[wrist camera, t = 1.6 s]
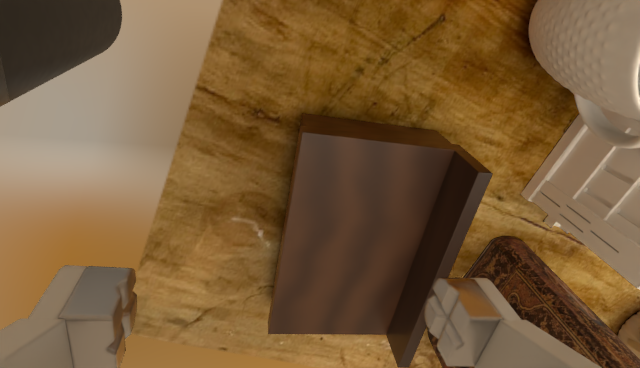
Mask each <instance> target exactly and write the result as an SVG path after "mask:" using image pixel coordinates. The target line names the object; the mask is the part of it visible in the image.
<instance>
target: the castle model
mask: <svg viewBox="0 0 640 368" xmlns="http://www.w3.org/2000/svg"><path fill="white" fill-rule="evenodd" d="M600 108H601V110H602V112H603V114H604V115H605V117H606V118H607V119H608V121H609V122H610V123H612V124H613V125H614V126H615V127H616V128H618V129H619V130H621V131H623V132H625V133H627V134H630V135H634V136H640V121H637V120H635V119H632V118H628V117H625V116H622V115H620V114H619V113H616V112H613V111H609V110H608V109H605V108H604V107H602V106H600ZM520 195H522V196H523V197H524V198H525V199H526V200H528V201H530V202H533V203H535V204H536V205H537V206H539V207H540V208H541V209H542V210H543V211H545V212H546V213H547V214H548V216H547V217H546V219H545V220H544V221H543V222H545V223H546V224H547V225H548V226H549V227H550V228H552V226H553V225H554V226H557V227H560V228H561V229H562V230H564V231H565V232H566V233H568V232H570V233H571V234H572V235H573V236H575V237H576V238H577V239H578V240H579V241H581V242H582V243H583V244H584V245H585V246H587V247H588V248H589V249H590V250H591V251H593V252H594V253H595V254H596V255H597V256H599V257H600V258H601V259H602V260H603V261H605V262H606V263H607V264H608V265H609V266H611V267H612V268H613V269H614V270H615V271H617V272H618V273H619V274H620V275H621V276H623V277H624V278H625V279H626V280H627V281H629V282H630V283H631V284H632V285H634V286H635V287H636V288H637V289H640V148H634V149H625V148H618V147H615V146H612V145H610V144H608V143H606V142H604V141H602V140H601V139H600V138H598V137H597V136H596V135H594V134H593V133H592V132H591V131H590V129H589V128H588V127H587V126H586V124H585V123H584V121H583V119H582V118H581V116H580V113H579V115H578V116H577V117H576V119H575V120H574V121H573V123H572V124H571V126H570V127H569V128H568V130H567V131H566V132H565V134H564V135H563V136H562V138H561V139H560V141H559V142H558V143H557V145H556V146H555V147H554V149H553V150H552V152H551V153H550V154H549V156H548V157H547V158H546V160H545V161H544V163H543V164H542V165H541V167H540V168H539V169H538V171H537V172H536V173H535V175H534V176H533V178H532V179H531V180H530V182H529V183H528V184H527V186H526V187H525V189H524V190H523V191H522V193H521V194H520Z"/></svg>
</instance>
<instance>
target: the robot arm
mask: <svg viewBox="0 0 640 368" xmlns="http://www.w3.org/2000/svg"><path fill="white" fill-rule="evenodd" d="M135 282H136V275H135V270H134V269H132V268H116V267H115V268H114V267H95V266H88V267H87V266H68V265H65V266H64V267H62V268H61V269H59V271H58V273H57V274H56V275H55V277H54V279H53V280H52V282H51V283H50V285H49V287H48V288H47V289H46V291H45V292H44V294H43V296H42V297H41V299H40V300H39V302H38V304H37V305H36V306H35V308H34V310H33V311H32V313H31V314H30V316H29V318H28V319H19V320H17V321H15V322H14V323H12V324H10V325H9V326H7V327H5V328H4V329H2V330H0V368H120V366H121V363H122V359H123V356H124V354H125V351H126V347H125V339H126V338H127V337H128V336H129V335H130V334H131V332H132V329H133V326H134V322H135V316H136V310H137V295H136V294H135V293H134V292H133V288H134V285H135ZM433 290H434V293H435V294H434V295H433V296H431V297H430V298H429V299H428V300H427V303H426V306H425V317H424V318H425V322H426V325H427V327H428V330H429V332H430V333H431V334H432V335H434V336H435V337H436V338H437V339H438V342H437V348H438V350H439V352H440V354H441V356H442V358H443V360H444V362H445V364H446V365H447V366H475V368H601V367H600V366H598V365H597V364H595V363H593V362H592V361H590V360H589V359H587V358H586V357H584V356H582V355H581V354H579V353H578V352H576V351H574V350H573V349H571V348H570V347H568V346H567V345H565V344H563V343H562V342H560V341H559V340H557V339H555V338H554V337H552V336H551V335H549V334H548V333H546V332H544V331H543V330H541V329H540V328H538V327H536V326H535V325H533V324H532V323H530V322H529V321H527V320H521V319H520V317H519V316H518V315H517V313H516V312H515V311H514V310H513V308H512V307H511V306H510V305H509V303H508V302H507V301H506V299H505V298H504V297H503V296H502V294H501V293H500V292H499V291H498V289H497V288H496V287H495V285H494V284H493V283H492V282H491V281H490V280H488V279H487V278H438V279H437V280H436V281H435V283H434V286H433Z"/></svg>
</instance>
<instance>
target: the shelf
mask: <svg viewBox="0 0 640 368" xmlns="http://www.w3.org/2000/svg"><path fill="white" fill-rule="evenodd" d="M491 177H492V173H491V172H490V171H489V170H488V169H487V168H485V167H484V166H483V165H482V164H481V163H480V162H478V161H477V160H476V159H475V158H474V157H472V156H471V155H470V154H469V153H468V152H467V151H465V150H464V149H463V148H462V147H461V146H460V145H455V144H451V143H450V142H449V141H448V140H447V139H445V138H444V137H443V136H442V135H441V134H440V133H439V132H437V131H434V130H426V129H419V128H411V127H403V126H395V125H388V124H380V123H372V122H365V121H357V120H349V119H342V118H334V117H326V116H319V115H311V114H302V116H301V122H300V128H299V138H298V144H297V150H296V156H295V162H294V168H293V174H292V180H291V186H290V192H289V198H288V204H287V210H286V216H285V222H284V228H283V234H282V240H281V246H280V253H279V259H278V265H277V271H276V277H275V283H274V286H273V292H272V301H271V307H270V313H269V319H268V334H376V335H387V338H388V341H389V344H390V346H391V349H392V352H393V355H394V357H395V360H396V363H397V366H398V367H409V366H410V363H411V361H412V359H413V357H414V354H415V352H416V350H417V347H418V345H419V343H420V340H421V338H422V336H423V333H424V331H425V329H426V327H427V325H426V322H425V318H424V317H425V306H426V303H427V300H428V299H429V298H430V297H431V296H433V295H434V294H435V293H434V290H433V286H434V283H435V281H436V280H437V279H438V278H448V276H449V273H450V271H451V269H452V267H453V264H454V262H455V260H456V257H457V255H458V253H459V250H460V248H461V246H462V243H463V241H464V239H465V237H466V234H467V232H468V230H469V227H470V225H471V223H472V220H473V218H474V216H475V213H476V211H477V209H478V207H479V204H480V202H481V200H482V197H483V195H484V193H485V190H486V188H487V186H488V183H489V181H490V179H491Z"/></svg>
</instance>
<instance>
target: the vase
mask: <svg viewBox="0 0 640 368" xmlns="http://www.w3.org/2000/svg"><path fill="white" fill-rule="evenodd" d="M618 338H619V339H620V340H621V341H622V342H623V343H624V344H625V345H626V346H627V347H628V348H629V349H630V350H631V351H632V352H633V353H634V354H635V355H636V356H637V357H638V358H639V359H640V311H639V312H637V314H636V315H633V316H631V318H630V319H628V320H627V321H626V322H625V324H623V325H622V327H621V329H620V330H619V334H618Z"/></svg>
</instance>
